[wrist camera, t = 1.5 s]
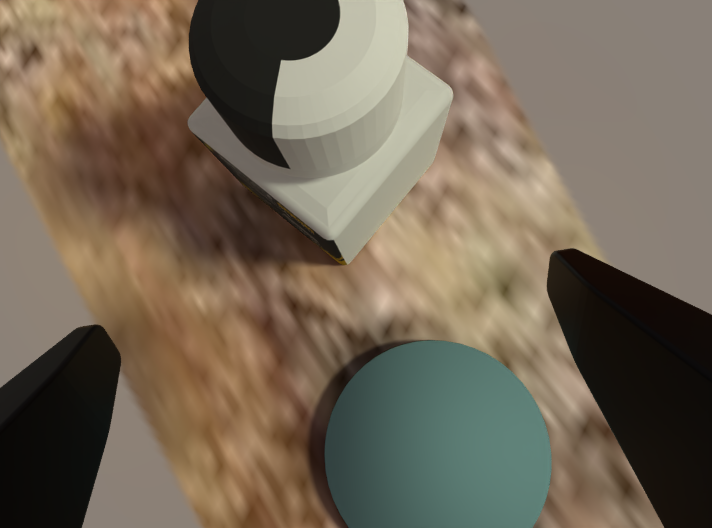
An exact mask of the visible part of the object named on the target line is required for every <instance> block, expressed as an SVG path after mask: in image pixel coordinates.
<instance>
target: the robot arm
mask: <svg viewBox="0 0 712 528" xmlns="http://www.w3.org/2000/svg"><path fill="white" fill-rule="evenodd" d="M547 292H548V296H549V298H550V301H551V303H552V306H553V308H554V311H555V313H556V316H557V319H558V321H559V324H560V326H561V329H562V331H563V334H564V336H565V339H566V341H567V344H568V346H569V349H570V351H571V354H572V356H573V358H574V361H575V363H576V365H577V367H578V369H579V371H580V373H581V375H582V376H583V378H584V380H585V382H586V384H587V386H588V387H589V389H590V391H591V393H592V395H593V397H594V398H595V400H596V402H597V404H598V406H599V408H600V410H601V411H602V413H603V415H604V417H605V419H606V421H607V422H608V424H609V426H610V428H611V430H612V432H613V434H614V435H615V437H616V439H617V441H618V443H619V445H620V446H621V448H622V450H623V452H624V454H625V456H626V458H627V459H628V461H629V463H630V465H631V467H632V469H633V470H634V472H635V474H636V476H637V478H638V480H639V482H640V483H641V485H642V487H643V489H644V491H645V493H646V494H647V496H648V498H649V500H650V502H651V504H652V506H653V507H654V509H655V511H656V513H657V515H658V517H659V518H660V520H661V522H662V524H663V526H664V528H712V315H711V314H709V313H707V312H705V311H703V310H701V309H699V308H697V307H695V306H693V305H691V304H689V303H687V302H684V301H682V300H680V299H678V298H676V297H674V296H672V295H670V294H668V293H666V292H664V291H662V290H659V289H658V288H656V287H653V286H651V285H649V284H647V283H645V282H643V281H641V280H638V279H637V278H635V277H633V276H631V275H628V274H626V273H624V272H622V271H620V270H618V269H616V268H614V267H612V266H610V265H608V264H606V263H604V262H602V261H600V260H598V259H596V258H594V257H591V256H589V255H587V254H585V253H583V252H581V251H579V250H577V249H574V248H570V249H564V250H558V251H554V252H553V253H552V254H551V256H550V261H549V269H548V278H547ZM120 366H121V356H120V353H119V351H118V349H117V348H116V346H115V344H114V343H113V341H112V340H111V338H110V337H109V335H108V334H107V332H106V331H105V329H104V328H103V327H102V326H100V325H89V326H83V327H79V328H76V329H75V330H74V331H72V332H71V333H70V334H68V335H67V336H66V337H65V338H63V339H62V340H61V341H60V342H58V343H57V344H56V345H55V346H53V347H52V348H51V349H49V350H48V351H47V352H45V353H44V354H43V355H42V356H40V357H39V358H38V359H37V360H35V361H34V362H33V363H31V364H30V365H29V366H28V367H26V368H25V369H24V370H22V371H21V372H20V373H19V374H18V375H16V376H15V377H14V378H12V379H11V380H10V381H8V382H7V383H6V384H5V385H3V386H2V387H1V388H0V528H82V525H83V522H84V518H85V515H86V511H87V508H88V504H89V501H90V497H91V494H92V490H93V487H94V483H95V480H96V476H97V473H98V469H99V466H100V462H101V459H102V455H103V452H104V448H105V445H106V441H107V437H108V433H109V429H110V424H111V419H112V413H113V407H114V401H115V395H116V389H117V384H118V378H119V372H120Z"/></svg>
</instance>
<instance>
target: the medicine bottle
mask: <svg viewBox="0 0 712 528" xmlns="http://www.w3.org/2000/svg"><path fill="white" fill-rule="evenodd" d="M407 47H408V20H407V13H406V9H405V5H404V2H403V0H198V3H197V5H196V7H195V10H194V13H193V16H192V20H191V25H190V32H189V53H190V60H191V65H192V68H193V72H194V75H195V78H196V80H197V82H198V84H199V86H200V88H201V90H202V91H203V93H204V94H205V96H206V97H207V98H206V99H205V100H204V101H203V102H202V103H201V104H200V106H199V107H198V108H197V109H196V110H195V111H194V112H193V113H192V115H191V116H190V117H189V119H188V127H189V129H190V130H191V131H192V133H193V134H194V135H195V136H196V137H197V138H198V139H199V140H200V141H201V142H202V143H203V144H204V145H205V146H206V147H207V148H208V149H209V150H210V151H211V152H212V153H213V154H214V155H215V156H216V157H217V159H218V160H219V161H220V162H221V163H222V164H223V165H224V166H225V167H226V168H227V169H228V170H229V171H230V172H231V173H232V174H233V175H234V176H235V177H236V178H237V179H238V180H239V181H240V182H241V183H242V184H243V185H244V186H245V187H246V188H247V189H249V190H250V191H251V192H252V193H254V194H255V195H256V196H257V197H258V198H260V199H261V200H262V201H263V202H265V203H266V204H267V205H268V206H270V207H271V208H272V209H273V210H274V211H276V212H277V213H278V214H279V215H281V216H282V217H283V218H284V219H286V220H287V221H288V222H289V223H290V224H292V225H293V226H294V227H295V228H297V229H298V230H299V231H300V232H301V233H303V234H304V235H305V236H306V237H308V238H309V239H310V240H311V241H313V242H314V243H315V244H316V245H317V246H319V247H320V248H321V249H322V250H324V251H325V252H326V253H327V254H329V255H330V256H331V257H332V258H333V259H335V260H336V261H337V262H338V263H340V264H342V265H348V264H349V263H350V262H351V261H352V260H353V259H354V258H355V256H356V255H357V254H358V253H359V252H360V250H361V249H362V248H363V247H364V246H365V244H366V243H367V242H368V241H369V239H370V238H371V237H372V236H373V235H374V233H375V232H376V231H377V230H378V229H379V227H380V226H381V225H382V224H383V223H384V221H385V220H386V219H387V218H388V217H389V215H390V214H391V213H392V212H393V210H394V209H395V208H396V207H397V206H398V204H399V203H400V202H401V201H402V200H403V198H404V197H405V196H406V195H407V194H408V192H409V191H410V190H411V189H412V187H413V186H414V185H415V184H416V183H417V181H418V180H419V179H420V178H421V177H422V175H423V174H424V173H425V172H426V171H427V169H428V168H429V167H430V166H431V164H432V163H433V161H434V159H435V155H436V152H437V149H438V145H439V142H440V139H441V135H442V132H443V129H444V125H445V122H446V119H447V115H448V112H449V109H450V106H451V102H452V99H453V91H452V89H451V87H450V86H449V85H447V84H446V83H445V82H443V81H442V80H440V79H439V78H438V77H436V76H435V75H433V74H432V73H431V72H429V71H428V70H427V69H425V68H424V67H422V66H421V65H420V64H418V63H417V62H415V61H414V60H413V59H411V58H410V57H409V56H407Z"/></svg>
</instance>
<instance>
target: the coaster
mask: <svg viewBox="0 0 712 528" xmlns="http://www.w3.org/2000/svg"><path fill="white" fill-rule="evenodd" d="M325 468H326V475H327V480H328V485H329V488H330V491H331V494H332V497H333V500H334V502H335V504H336V506H337V509H338V511H339V513H340V515H341V516H342V518H343V519H344V521H345V523H346V524H347V526H348V527H349V528H532V527H533V526H534V524H535V522H536V520H537V519H538V517H539V515H540V513H541V510H542V508H543V505H544V503H545V500H546V497H547V493H548V489H549V485H550V477H551V449H550V442H549V436H548V433H547V429H546V425H545V422H544V420H543V417H542V415H541V412H540V410H539V408H538V406H537V404H536V402H535V401H534V399H533V397H532V395H531V394H530V393H529V391H528V390H527V389H526V387H525V386H524V384H523V383H522V382H521V381H520V380H519V379H518V378H517V377H516V376H515V375H514V374H513V373H512V372H511V371H510V370H509V369H508V368H507V367H505V366H504V365H503V364H502V363H500V362H499V361H497V360H496V359H494V358H492V357H491V356H489V355H488V354H486V353H483V352H481V351H479V350H477V349H475V348H472V347H469V346H466V345H462V344H459V343H453V342H447V341H435V340H427V341H416V342H411V343H407V344H402V345H400V346H397V347H394V348H392V349H389V350H387V351H385V352H383V353H382V354H380V355H378V356H376V357H375V358H374V359H372V360H371V361H369V362H368V363H366V364H365V365H364V366H363V367H362V368H361V369H360V370H359V371H358V372H357V373H356V374H355V375H354V376H353V378H352V379H351V380H350V381H349V382H348V384H347V385H346V387H345V388H344V390H343V392H342V393H341V395H340V396H339V398H338V400H337V402H336V404H335V407H334V409H333V411H332V414H331V417H330V421H329V424H328V428H327V434H326V439H325Z"/></svg>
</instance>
